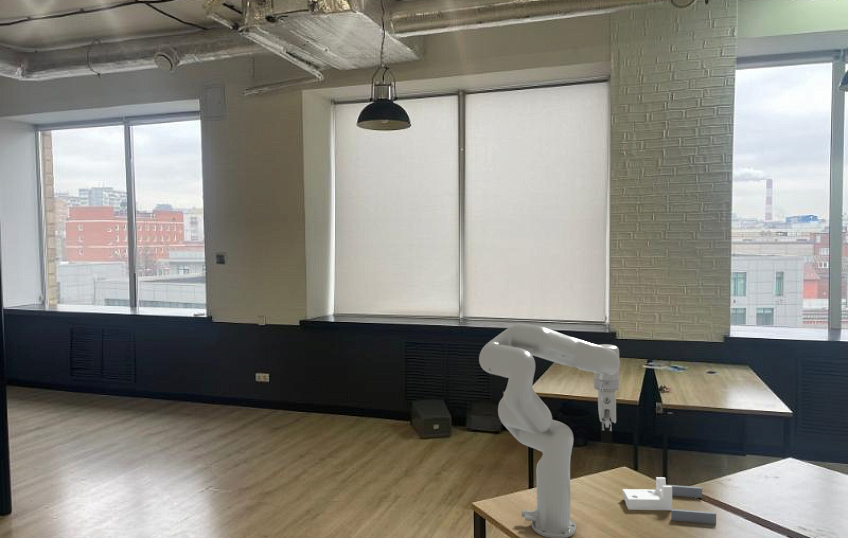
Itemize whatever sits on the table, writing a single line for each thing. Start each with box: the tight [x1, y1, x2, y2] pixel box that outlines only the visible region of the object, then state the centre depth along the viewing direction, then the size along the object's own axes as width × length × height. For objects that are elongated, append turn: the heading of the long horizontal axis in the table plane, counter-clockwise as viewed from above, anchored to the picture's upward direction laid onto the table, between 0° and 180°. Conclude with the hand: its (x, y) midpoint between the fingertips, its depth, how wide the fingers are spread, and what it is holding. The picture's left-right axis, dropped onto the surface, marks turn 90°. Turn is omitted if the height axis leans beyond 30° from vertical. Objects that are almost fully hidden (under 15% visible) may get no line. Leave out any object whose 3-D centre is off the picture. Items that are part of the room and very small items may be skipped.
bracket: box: [622, 476, 673, 511], centre depth 179 cm, size 13×7×8 cm, turn 85°
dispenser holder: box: [666, 484, 717, 525], centre depth 176 cm, size 12×18×3 cm, turn 167°
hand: (606, 437), depth 181 cm, fingers open, 9 cm apart
